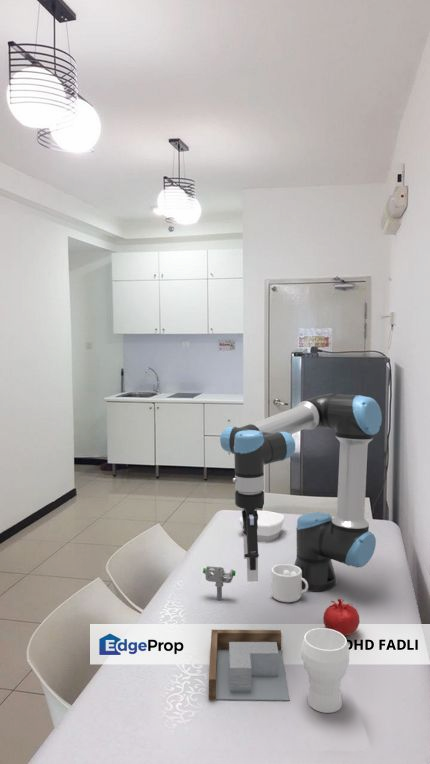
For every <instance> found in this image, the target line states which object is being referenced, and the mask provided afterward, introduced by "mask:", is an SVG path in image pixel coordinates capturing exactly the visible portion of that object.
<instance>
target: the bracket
mask: <svg viewBox="0 0 430 764" xmlns="http://www.w3.org/2000/svg"><path fill="white" fill-rule="evenodd" d="M278 669H279V653H278V647H277V642H229V676H230V692H251V677H278Z"/></svg>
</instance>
